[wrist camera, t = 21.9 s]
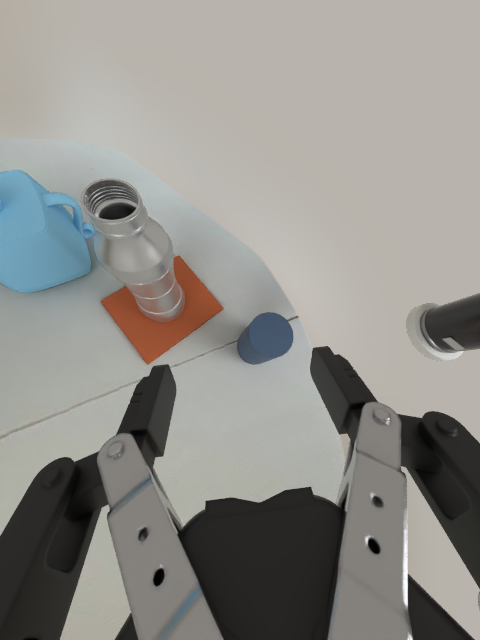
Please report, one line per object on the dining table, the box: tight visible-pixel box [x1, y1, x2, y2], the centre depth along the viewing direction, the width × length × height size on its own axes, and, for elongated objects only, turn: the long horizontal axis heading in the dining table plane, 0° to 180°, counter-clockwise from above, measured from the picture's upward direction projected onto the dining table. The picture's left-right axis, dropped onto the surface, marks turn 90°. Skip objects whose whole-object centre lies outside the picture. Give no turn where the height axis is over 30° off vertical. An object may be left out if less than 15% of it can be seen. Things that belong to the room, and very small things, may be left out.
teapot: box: [0, 170, 95, 293], centre depth 27 cm, size 12×18×12 cm
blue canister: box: [237, 312, 293, 364], centre depth 30 cm, size 6×6×9 cm
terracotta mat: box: [100, 255, 223, 364], centre depth 33 cm, size 14×12×1 cm
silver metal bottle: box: [81, 179, 185, 322], centre depth 23 cm, size 6×7×20 cm
